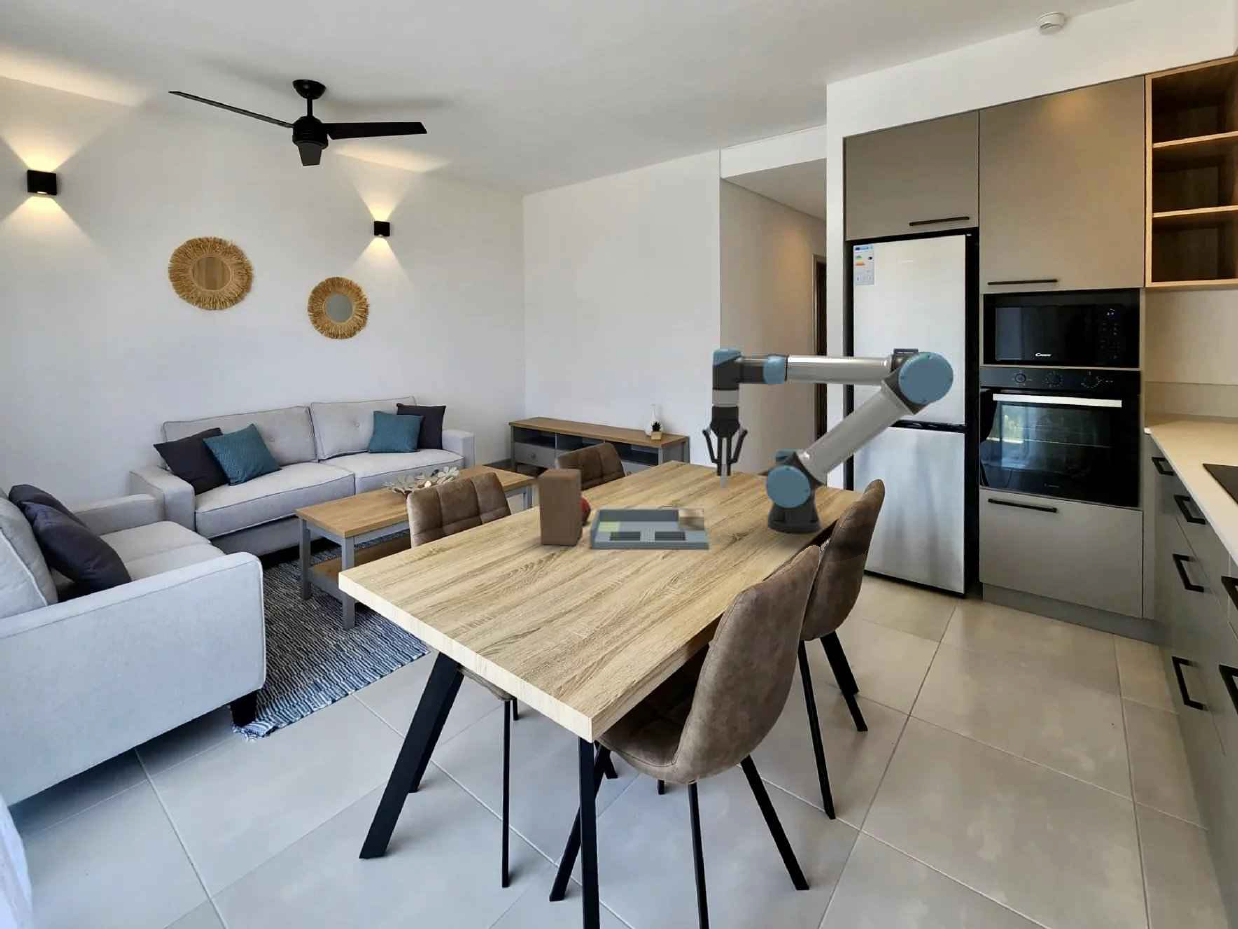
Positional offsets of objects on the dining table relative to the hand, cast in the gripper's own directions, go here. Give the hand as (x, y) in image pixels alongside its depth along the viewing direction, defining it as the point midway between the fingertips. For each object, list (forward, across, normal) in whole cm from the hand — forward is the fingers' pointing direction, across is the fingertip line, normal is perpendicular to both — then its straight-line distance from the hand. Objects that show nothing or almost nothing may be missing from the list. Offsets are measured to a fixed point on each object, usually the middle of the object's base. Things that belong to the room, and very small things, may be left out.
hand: (723, 486), depth 173 cm
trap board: (+14, +21, +4) cm, 26 cm away
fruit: (+14, +44, -10) cm, 47 cm away
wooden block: (+14, +46, +6) cm, 49 cm away
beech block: (+12, +9, 0) cm, 15 cm away
